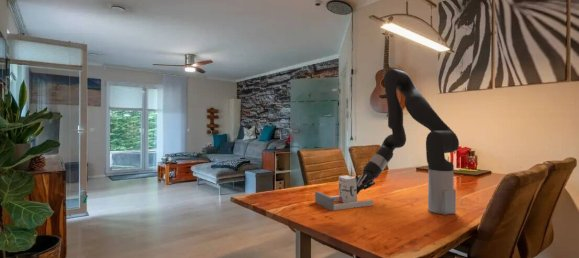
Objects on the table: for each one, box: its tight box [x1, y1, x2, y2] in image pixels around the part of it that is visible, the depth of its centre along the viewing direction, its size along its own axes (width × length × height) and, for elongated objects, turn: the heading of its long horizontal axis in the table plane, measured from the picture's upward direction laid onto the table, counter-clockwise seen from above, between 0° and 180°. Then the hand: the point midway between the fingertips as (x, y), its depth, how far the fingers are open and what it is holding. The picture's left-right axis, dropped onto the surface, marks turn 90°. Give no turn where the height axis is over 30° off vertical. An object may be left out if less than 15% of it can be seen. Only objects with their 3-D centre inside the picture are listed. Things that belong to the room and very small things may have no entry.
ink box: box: [338, 174, 358, 203], centre depth 136 cm, size 9×5×12 cm, turn 18°
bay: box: [314, 190, 374, 211], centre depth 135 cm, size 14×22×5 cm, turn 112°
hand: (353, 194), depth 137 cm, fingers closed
